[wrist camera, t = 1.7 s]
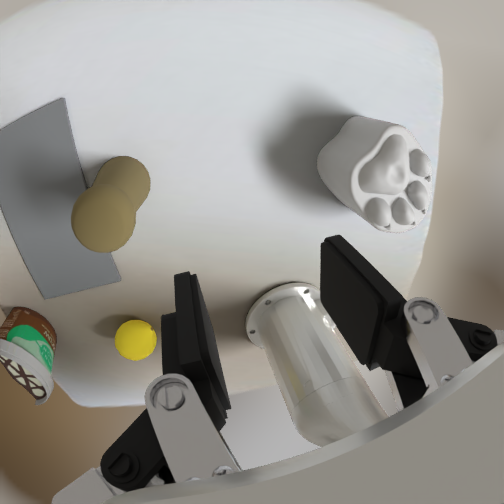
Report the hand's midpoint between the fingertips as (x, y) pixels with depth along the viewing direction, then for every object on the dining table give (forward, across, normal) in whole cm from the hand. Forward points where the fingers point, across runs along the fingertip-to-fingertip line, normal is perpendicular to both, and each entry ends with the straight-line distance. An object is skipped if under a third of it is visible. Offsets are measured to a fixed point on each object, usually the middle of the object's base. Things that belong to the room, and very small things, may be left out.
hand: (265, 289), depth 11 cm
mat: (+21, +19, 0) cm, 29 cm away
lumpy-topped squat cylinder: (+22, -19, +4) cm, 29 cm away
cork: (+22, +9, 0) cm, 23 cm away
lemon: (+22, +14, +19) cm, 32 cm away
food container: (+22, +29, +16) cm, 40 cm away
